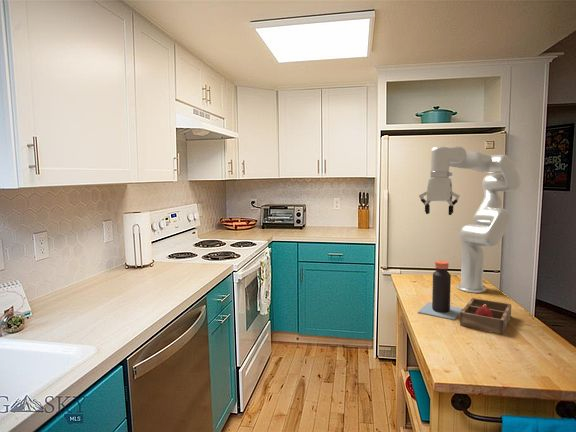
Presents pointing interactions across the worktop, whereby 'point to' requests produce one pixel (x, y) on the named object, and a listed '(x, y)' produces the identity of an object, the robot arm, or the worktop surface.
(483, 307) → the onion
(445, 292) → the vinegar
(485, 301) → the rack
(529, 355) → the worktop surface
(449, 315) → the mat
